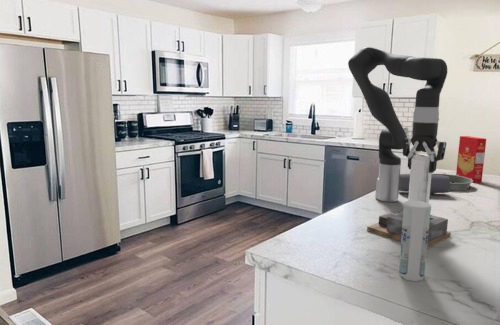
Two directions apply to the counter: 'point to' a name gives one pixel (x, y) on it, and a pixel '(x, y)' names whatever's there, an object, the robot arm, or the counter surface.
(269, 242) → the counter surface
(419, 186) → the paper towel roll
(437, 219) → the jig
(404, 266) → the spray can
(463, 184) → the cake pan
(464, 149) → the food packaging
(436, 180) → the bluetooth speaker
